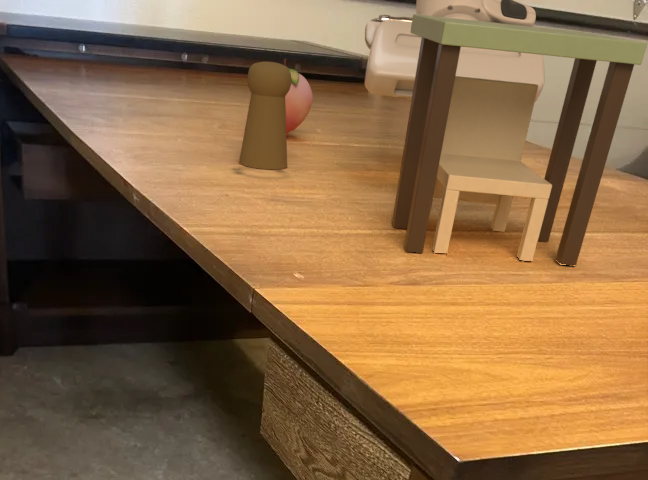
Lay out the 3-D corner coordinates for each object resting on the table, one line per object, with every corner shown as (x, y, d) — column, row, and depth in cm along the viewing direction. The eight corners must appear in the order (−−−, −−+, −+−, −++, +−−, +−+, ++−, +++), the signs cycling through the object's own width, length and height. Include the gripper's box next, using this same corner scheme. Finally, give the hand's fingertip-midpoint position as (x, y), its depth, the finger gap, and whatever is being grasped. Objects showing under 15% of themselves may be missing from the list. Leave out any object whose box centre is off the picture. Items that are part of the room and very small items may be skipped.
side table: (532, 225, 86) (581, 31, 76) (581, 269, 73) (648, 43, 63) (382, 211, 85) (413, 14, 75) (404, 254, 72) (444, 21, 62)
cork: (252, 157, 104) (259, 58, 98) (295, 165, 102) (304, 65, 96) (229, 163, 100) (235, 59, 94) (274, 171, 98) (282, 66, 92)
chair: (501, 228, 83) (536, 84, 76) (532, 262, 74) (575, 99, 66) (415, 220, 83) (440, 74, 76) (433, 253, 73) (465, 88, 66)
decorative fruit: (237, 130, 121) (241, 53, 115) (285, 131, 125) (292, 56, 119) (267, 143, 114) (273, 61, 109) (317, 143, 118) (325, 64, 112)
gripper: (370, -9, 91) (367, 100, 88) (549, 10, 92) (551, 118, 90) (360, 35, 97) (357, 138, 95) (528, 53, 99) (529, 155, 96)
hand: (453, 129), depth 92 cm, fingers closed
